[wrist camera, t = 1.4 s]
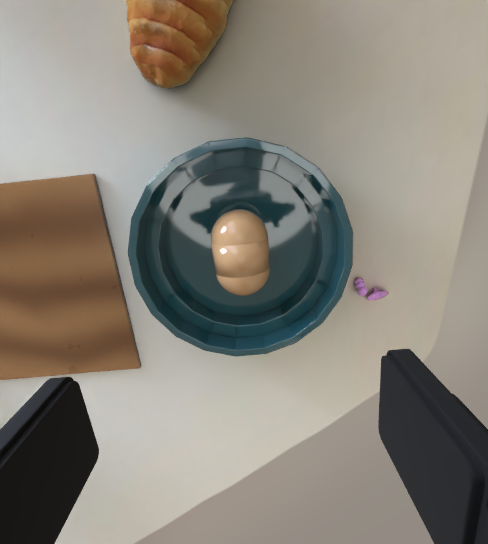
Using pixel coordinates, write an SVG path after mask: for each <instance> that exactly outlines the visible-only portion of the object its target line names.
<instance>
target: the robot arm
mask: <svg viewBox="0 0 488 544" xmlns="http://www.w3.org/2000/svg"><path fill="white" fill-rule="evenodd" d="M379 434H380V437H381V440H382V442H383V444H384V446H385V448H386V450H387V452H388V454H389V456H390V458H391V459H392V462H393V463H394V465H395V467H396V469H397V471H398V473H399V475H400V477H401V479H402V481H403V483H404V485H405V487H406V489H407V491H408V493H409V495H410V497H411V499H412V501H413V503H414V505H415V506H416V509H417V511H418V512H419V515H420V516H421V518H422V520H423V522H424V524H425V526H426V528H427V530H428V532H429V534H430V536H431V538H432V540H433V542H434V544H488V429H487V428H486V427H485V426H484V425H483V424H482V423H481V422H480V421H479V420H478V419H477V418H476V417H475V415H474V414H473V413H472V412H471V411H470V410H469V409H468V408H467V407H466V406H465V405H464V404H463V403H462V402H461V401H460V400H459V399H458V398H457V397H456V396H455V395H454V394H451V393H450V391H449V390H448V389H447V388H446V387H445V386H444V385H443V384H442V383H441V382H440V381H439V380H438V379H437V378H436V376H434V374H433V373H432V372H431V371H430V370H429V369H428V368H427V367H426V366H425V365H424V364H423V363H422V361H421V360H420V359H419V358H418V357H417V356H416V355H415V354H414V353H413V352H412V351H411V350H410V349H399V350H389V351H388V352H387V356H382V359H381V379H380V403H379ZM98 455H99V448H98V444H97V441H96V438H95V435H94V431H93V428H92V425H91V422H90V419H89V415H88V412H87V409H86V406H85V402H84V399H83V396H82V393H81V389H80V386H79V384H78V382H76V381H74V380H73V379H72V378H71V377H61V378H51V379H49V380H47V381H46V382H45V383H44V384H43V385H42V386H41V387H40V389H39V390H38V391H37V392H36V393H35V394H34V395H33V396H32V397H31V398H30V399H29V400H28V401H27V402H26V403H25V404H24V405H23V406H22V407H21V408H20V410H19V411H18V412H17V413H16V414H15V415H14V416H13V417H12V418H11V419H10V420H9V421H8V422H7V423H6V424H5V425H4V426H3V427H2V428H1V429H0V544H54V543H55V541H56V539H57V538H58V536H59V534H60V532H61V530H62V528H63V526H64V524H65V522H66V520H67V518H68V516H69V514H70V512H71V510H72V508H73V506H74V504H75V503H76V501H77V499H78V497H79V495H80V493H81V491H82V489H83V487H84V485H85V483H86V481H87V479H88V477H89V475H90V473H91V471H92V469H93V468H94V466H95V464H96V462H97V459H98Z"/></svg>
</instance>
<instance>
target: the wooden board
mask: <svg viewBox="0 0 488 544" xmlns="http://www.w3.org/2000/svg"><path fill="white" fill-rule="evenodd" d="M140 366H141V364H140V360H139V356H138V352H137V348H136V344H135V340H134V335H133V331H132V327H131V323H130V319H129V315H128V311H127V306H126V302H125V298H124V294H123V290H122V286H121V282H120V277H119V273H118V269H117V265H116V261H115V257H114V253H113V248H112V244H111V240H110V236H109V232H108V228H107V224H106V219H105V215H104V211H103V207H102V203H101V199H100V195H99V190H98V186H97V182H96V178H95V174H88V175H79V176H70V177H60V178H51V179H42V180H32V181H23V182H14V183H4V184H0V380H6V379H18V378H29V377H41V376H53V375H64V374H76V373H88V372H100V371H111V370H123V369H135V368H140Z"/></svg>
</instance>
